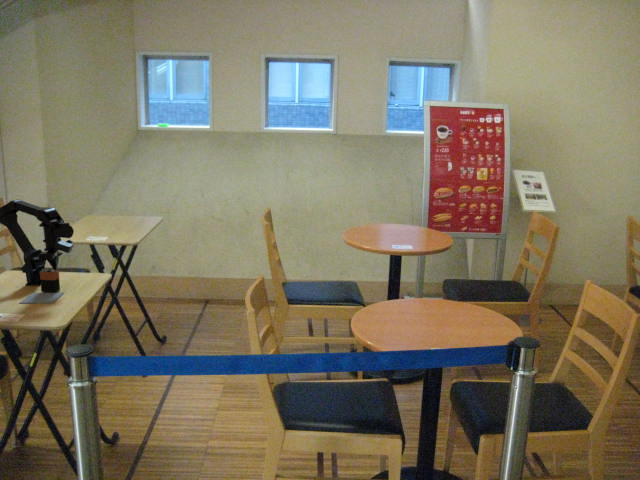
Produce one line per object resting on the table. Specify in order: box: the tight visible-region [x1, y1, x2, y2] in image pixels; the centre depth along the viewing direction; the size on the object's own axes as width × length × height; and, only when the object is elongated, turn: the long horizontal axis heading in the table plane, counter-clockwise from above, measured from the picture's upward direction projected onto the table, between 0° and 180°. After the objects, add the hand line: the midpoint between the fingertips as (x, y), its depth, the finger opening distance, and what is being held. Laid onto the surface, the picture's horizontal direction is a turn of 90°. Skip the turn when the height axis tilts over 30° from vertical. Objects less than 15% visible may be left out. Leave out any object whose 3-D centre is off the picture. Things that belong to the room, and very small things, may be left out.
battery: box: [40, 268, 61, 293], centre depth 258 cm, size 4×7×10 cm, turn 76°
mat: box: [19, 292, 65, 305], centre depth 250 cm, size 14×12×1 cm
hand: (55, 269), depth 264 cm, fingers closed
